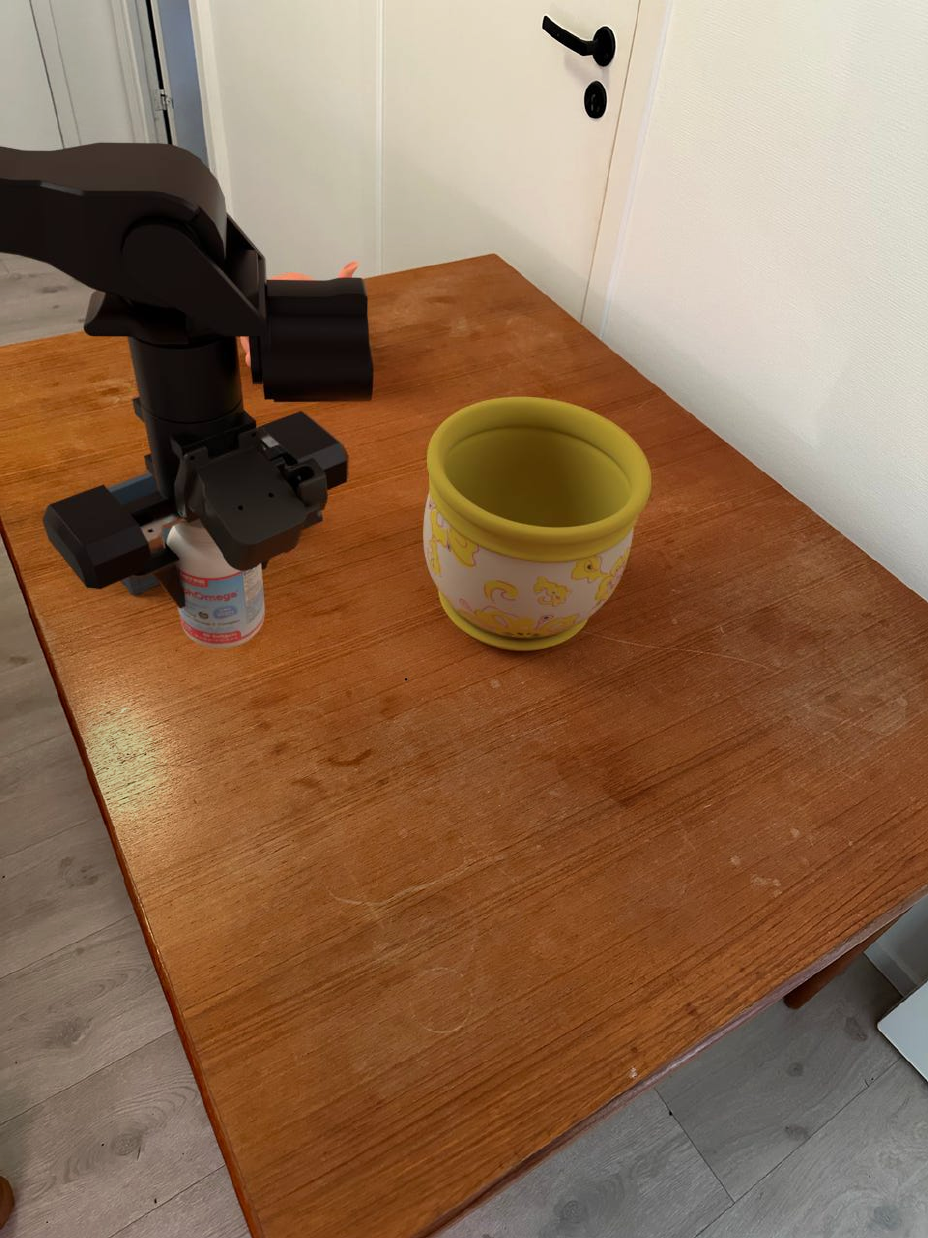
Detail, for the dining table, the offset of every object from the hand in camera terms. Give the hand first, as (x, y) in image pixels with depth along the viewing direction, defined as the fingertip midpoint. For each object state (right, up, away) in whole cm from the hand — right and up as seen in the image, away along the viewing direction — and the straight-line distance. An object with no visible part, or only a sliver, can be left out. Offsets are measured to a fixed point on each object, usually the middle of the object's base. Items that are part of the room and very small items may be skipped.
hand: (220, 585), depth 61 cm
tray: (-10, +6, +22) cm, 25 cm away
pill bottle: (0, -3, +3) cm, 4 cm away
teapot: (-2, +28, +44) cm, 52 cm away
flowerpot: (+22, -1, +19) cm, 29 cm away
